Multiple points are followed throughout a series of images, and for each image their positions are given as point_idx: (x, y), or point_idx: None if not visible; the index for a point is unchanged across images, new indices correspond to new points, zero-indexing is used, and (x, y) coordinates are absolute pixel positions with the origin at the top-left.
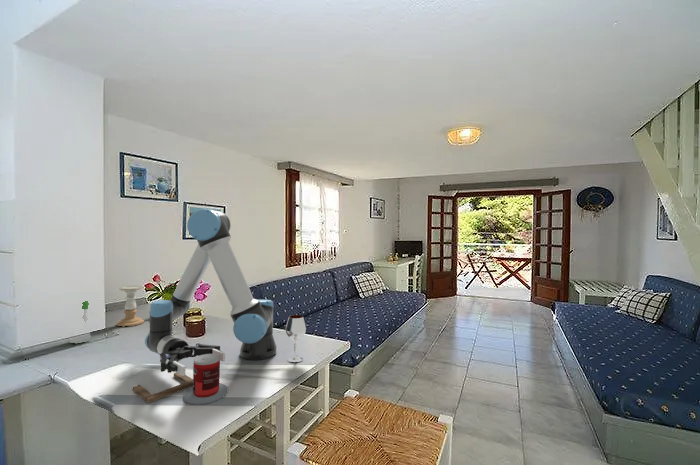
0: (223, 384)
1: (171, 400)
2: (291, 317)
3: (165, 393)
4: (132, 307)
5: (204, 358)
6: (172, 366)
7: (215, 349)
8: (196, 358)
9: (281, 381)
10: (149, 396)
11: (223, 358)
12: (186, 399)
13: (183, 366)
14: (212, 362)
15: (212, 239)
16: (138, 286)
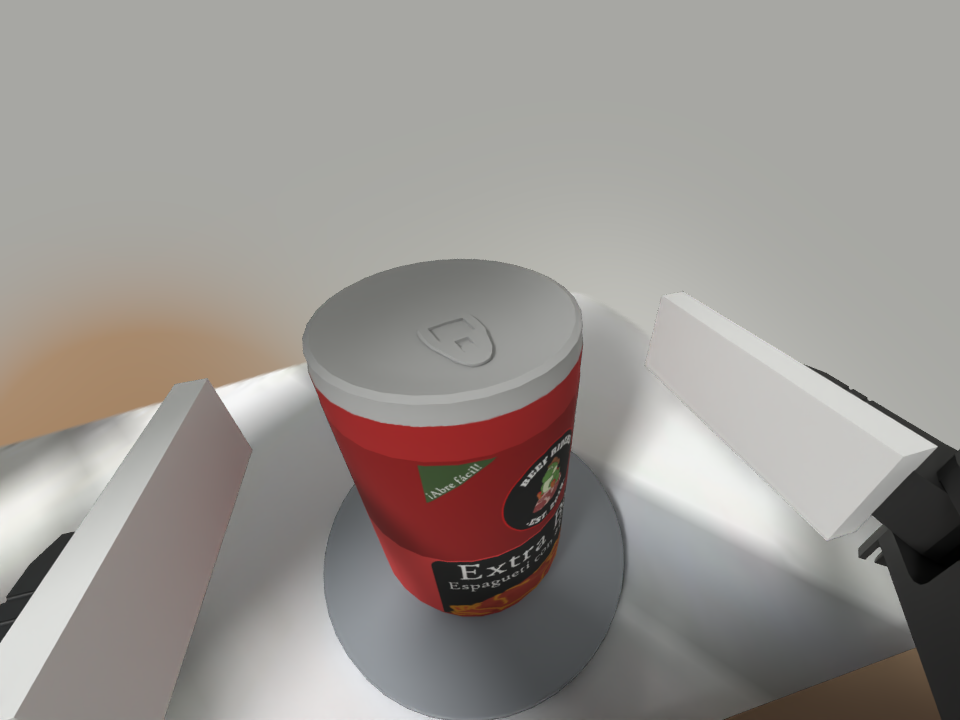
0: (329, 563)
1: (709, 579)
2: None
3: (811, 689)
4: None
5: (457, 336)
6: (843, 387)
7: (20, 635)
8: (546, 348)
9: (112, 436)
10: None
11: (229, 427)
12: (602, 498)
13: (681, 296)
14: (436, 267)
15: None
16: None
